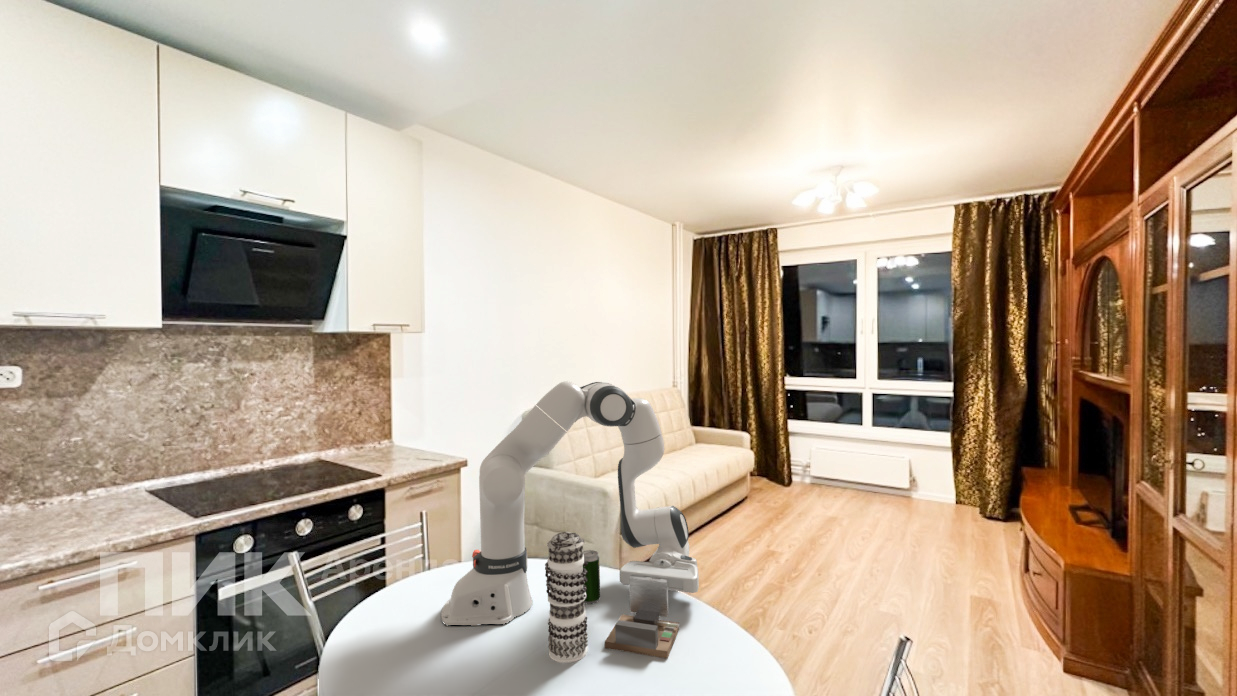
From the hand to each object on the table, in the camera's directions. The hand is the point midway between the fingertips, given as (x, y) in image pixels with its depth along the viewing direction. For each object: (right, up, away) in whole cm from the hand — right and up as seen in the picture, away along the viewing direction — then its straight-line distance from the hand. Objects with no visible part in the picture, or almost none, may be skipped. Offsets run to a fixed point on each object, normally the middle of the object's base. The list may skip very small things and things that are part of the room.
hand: (651, 590), depth 124 cm
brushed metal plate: (0, -5, -5) cm, 8 cm away
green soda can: (-16, -8, +11) cm, 20 cm away
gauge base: (-3, -7, -8) cm, 11 cm away
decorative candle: (-19, -8, -12) cm, 24 cm away
